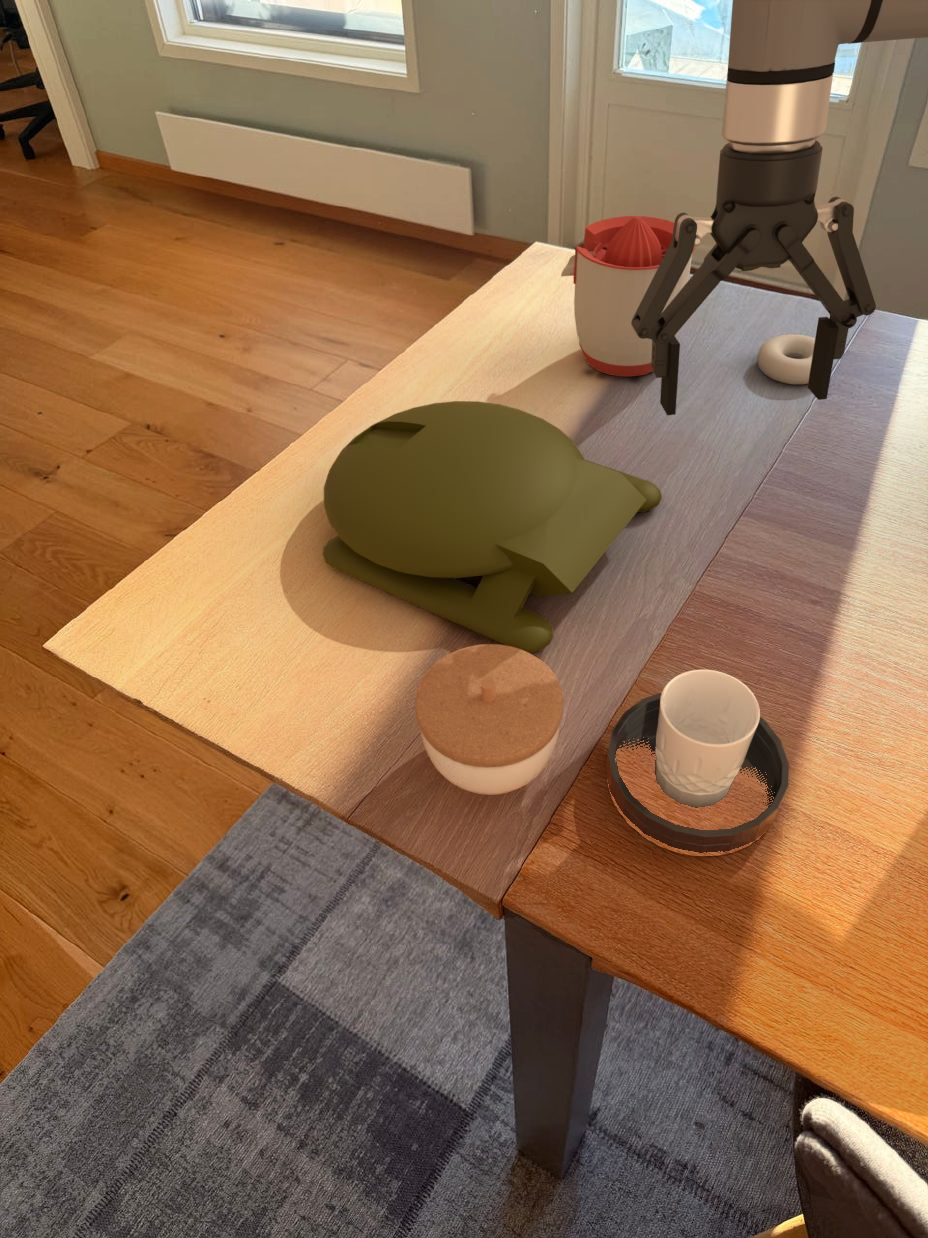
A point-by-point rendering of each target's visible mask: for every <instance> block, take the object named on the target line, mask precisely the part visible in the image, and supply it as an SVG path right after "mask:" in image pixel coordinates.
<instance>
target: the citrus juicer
mask: <svg viewBox="0 0 928 1238" xmlns="http://www.w3.org/2000/svg"><path fill="white" fill-rule="evenodd" d="M674 223H675V221H670V220H668V219H663V218H659V217H653V216H645V215H644V216H643V215H642V216H641V215H627V216H626V215H624V216H616V217H610V218H604V219H601V220H598V221H596V222H592V223H590V224H589V225H587V226H585V227H584V238H583V239H584V240H583V247H581V246H578V245H575V246H574V247H575V249H574V254H573V255H571V256H570V257H569V259H568V262H567V263H566V265H565V267H564V268H563V269H562V271H561V273H560V277H573V278H572V279H573V285H574V299H573V307H574V309H573V311H574V314H573V315H574V323H575V328H576V335H577V338H578V345H579V347H580V351H581V353H582V355H583V357H584V360H585V361H586V363H587V364H588V365H589V366H590V367H591V368H593V369H594V370H596V371H598V372H601V373H603V374H607V375H611V376H615V377H637V376H644V375H648V374H650V373H653V370H652V368H651V361H652V360H651V358H652V340H651V339H648V338H645V339H641V338H639V337H638V335H637V333H636V332H635V330H634V328H633V327H632V325H631V321H632V319H633V317H634V315H635V313H636V311H637V309H638V307H639V305H640V303H641V301H642V299H643V297H644V295H645V293H646V291H647V289H648V287H649V285H650V283H651V281H652V279H653V277H654V275H655V273H656V271H657V269H658V267H659V265H660V263H661V261H662V259H663V257H664V255H665V253H666V252H667V250H668V248H669V246H670V244H671V241H672V235H673V229H674ZM696 247H697V246H696ZM696 247H694V248H693V252H692V255H691V257H690V259H689V261H688V263H687V265H686V267H685V269H684V271H683V273H682V275H681V277H680V279H679V281H678V282H677V284H676V286H675V288H674V290H673V292H672V294H671V296H670V298H669V300H668V302H667V303H666V305H665V307H664V309H663V311H664V310H665V309H666V307H667V306H668V305H669V304H670V302H671V301H672V300H673V299H674V298H675V296H676V295H677V294H678V293H679V292H680V290H681V289H682V288H683V287H684V286H685V284H686V283H687V282H688V281H689V280H690V273H691V266H692V259H693V253H694V251H695V250H696ZM663 311H662V312H663ZM679 332H680V330H679V331H678V332H677V333H676V334H675V337H676V338H677V337H678V335H679Z"/></svg>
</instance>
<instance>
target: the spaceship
mask: <svg viewBox="0 0 928 1238" xmlns="http://www.w3.org/2000/svg"><path fill="white" fill-rule="evenodd" d="M662 496H663V495H662V491H661V489H660V488H659V487H658V486H657V485H656V484H655V483H653V482H651V481H649V480H646V479H643V478H641V477H638V476H634V475H631V474H628V473H625V472H623V471H620V470H618V469H615V468H612V467H608V466H605V465H602V464H599V463H597V462H593V461H591V460H587V459H586V458H585V457H584V455H583V454H582V452H581V451H580V450H579V448H578V447H577V446H576V444H575V442H574V441H573V440H572V439H571V438H570V437H569V436H567V434H566V433H565V432H563V431H562V430H561V429H560V428H559V427H556V426H555V425H554V424H551V422H548V421H547V420H545V419H544V418H542V417H539V416H536V415H535V414H532V413H529V412H527V411H524V410H521V409H519V408H515V407H511V406H507V405H504V404H500V403H494V402H493V403H492V402H486V401H477V400H476V401H475V400H474V401H473V400H468V401H467V400H466V401H465V400H454V401H444V402H435V403H430V404H424V405H420V406H415V407H411V408H409V409H405V410H402V411H400V412H397V413H394V414H391V415H390V416H388V417H386V418H384V419H381V420H380V421H377V422H375V423H373V424H372V425H370V426H369V427H367V428H365V430H363V431H362V432H360V433H358V434H357V435H356V436H354V437H353V438H352V440H350V442H348V444H346V445H345V446H344V447H343V448H342V449H341V451H340V452H339V454H338V455H337V457H336V458H335V460H334V462H333V463H332V465H331V466H330V468H329V470H328V473H327V476H326V479H325V483H324V486H323V506H324V507H323V508H324V510H325V512H326V517H327V520H328V522H329V525H330V526H331V528H332V529H333V530H334V532H335V533H336V535H337V536H335V537H333V538H331V539H330V540H328V541H327V542H326V544H325V545H324V547H322V548H323V549H322V557H323V560H324V562H325V563H326V564H327V565H328V566H330V567H331V568H333V569H335V570H337V571H340V572H342V573H344V574H346V575H348V576H350V577H353V578H355V579H357V580H359V581H362V582H364V583H366V584H369V585H371V586H373V587H375V588H377V589H379V590H381V591H384V592H386V593H388V594H389V595H390V594H391V595H393V596H394V597H397V598H399V599H401V600H403V601H405V602H407V603H410V604H412V605H414V606H417V607H419V608H421V609H423V610H425V611H428V612H430V613H432V614H434V615H436V616H439V617H441V618H443V619H445V620H448V621H450V622H452V623H454V624H456V625H458V626H460V627H463V628H464V629H467V630H469V631H472V632H474V633H476V634H478V635H480V636H483V637H485V638H488V640H492V641H494V642H496V643H498V644H499V645H506V646H511V647H515V648H518V649H521V650H524V651H526V652H528V653H530V654H532V653H536V652H539V651H542V650H544V649H546V648H547V647H548V646H549V645H550V644H551V642H552V640H553V638H554V633H553V632H554V631H553V626H552V624H551V622H550V621H549V619H547V618H545V617H544V616H542V615H541V614H540V613H536V612H534V611H532V610H529V609H527V608H525V607H524V605H525V603H526V601H527V599H528V597H529V595H530V594H531V593H532V594H534V595H537V596H540V597H541V598H544V597H551V596H558V595H566V594H572V593H574V592H575V590H576V589H577V587H578V586H579V585H580V584H581V582H582V581H583V580H584V579H585V578H586V576H587V575H588V574H589V573H590V571H591V570H592V569H593V567H594V566H595V565H596V564H597V563H598V561H599V560H600V559H601V558H602V556H603V555H604V554H605V553H606V551H607V550H608V548H610V546H611V545H612V544H613V542H614V541H615V540H616V539H617V538H618V536H619V535H620V534H621V532H622V531H623V530H624V529H625V527H627V526H628V524H629V522H630V521H631V520H632V519H633V517H634V516H635V515H636V514H637V513H640V512H642V513H644V512H649V511H651V510H653V509H655V508H656V507H657V506H659V505H660V503H661V500H662ZM480 576H482V577H481V580H480V581H479V583H478V585H477V586H473V585H471V584H469V583H467V582H464V581H462V580H460V579H461V578H470V577H480Z"/></svg>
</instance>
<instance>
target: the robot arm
mask: <svg viewBox="0 0 928 1238" xmlns="http://www.w3.org/2000/svg"><path fill="white" fill-rule="evenodd" d="M923 38H925V39H926V38H928V0H732V4H731V17H730V34H729V46H728V47H729V48H728V61H727V73H726V80H725V81H726V83H725V94H724V105H723V115H722V116H723V117H722V128H721V136H722V137H723V139H724V140H725V141H727V143H725V144H724V145H723V147H722V148H721V149H720V151H719V161H718V174H717V184H716V185H717V187H716V197H715V198H716V201H715V207H714V209H713V212H712V213H711V215H710V216H690V215H689V213H687V212H680V213H678V214H677V215H676V217H675V219H674V229H673V235H672V241H671V244H670V246H669V248H668V250H667V252H666V253H665V255H664V257H663V259H662V261H661V263H660V265H659V267H658V269H657V271H656V273H655V275H654V277H653V279H652V281H651V283H650V285H649V287H648V289H647V291H646V293H645V295H644V297H643V299H642V301H641V303H640V305H639V307H638V309H637V311H636V313H635V315H634V317H633V319H632V321H631V325H632V327H633V328H634V330H635V332H636V333H637V335H638V337H639V338H641V339H645V338H648V339H651V340H652V358H651V360H652V361H651V368H652V370H653V371H652V373H653V374H654V377H656V379H659V378H661V379H660V399H659V404H660V405H661V407H662V409H663V411H664V413H665V415H666V416H675V415H677V414H676V413H677V396H678V381H679V367H680V366H679V365H680V352H681V351H680V350H681V343H680V341H679V340H678V339H677V337H675V334H676V333H677V332H678V331H679V332H680V330H681V329H682V328H683V326H684V325H685V324H686V323H687V321H689V319H690V318H691V317H692V316H693V314H694V313H695V312H696V311H697V310H698V309H699V308H700V306H701V305H702V304H703V303H704V301H705V300H706V299H708V298H709V296H710V295H711V293H712V292H713V290H715V289H716V287H717V286H718V285H719V284H720V283H721V281H723V280H726V279H727V278H728V277H730V275H731V274H732V272H733V271H734V270H735V269H738V270H740V271H742V272H751V271H755V270H757V269H760V268H766V269H777V268H779V269H780V268H781V265H784V264H786V262H788V261H789V262H790V264H791V265H792V266H793V267H794V269H795V270H796V271H797V273H798V274H799V275H800V277H801V278H802V279H803V281H804V283H806V285H807V287H809V289H810V290H811V291H812V293H813V294H814V295H815V297H816V298H817V299H818V301H819V302H820V303H821V305H822V306H823V307H824V309H825V311H827V313H828V314H829V317H828V316H820V317H818V320H817V324H816V331H815V337H814V338H815V343H814V350H813V356H812V362H811V369H810V375H809V381H808V384H807V389H808V390H809V392H811V394H812V395H813V396H814V397H815V398H816V399H817V400H818V401H821V400H827V399H828V394H829V389H830V382H831V377H832V371H833V365H834V360H841V359H842V358H843V356H844V354H845V351H846V346H847V345H846V344H847V341H848V340H847V339H848V335H849V329H852V328H854V327H855V326H856V324H857V322H858V318H859V317H862V316H871V315H872V314H873V313H874V312H875V311H876V308H877V305H876V301H875V299H874V295H873V292H872V289H871V286H870V282H869V279H868V276H867V273H866V270H865V267H864V263H863V260H862V257H861V254H860V251H859V248H858V247H859V246H858V244H857V242H856V238H855V235H854V232H853V230H854V218H855V217H854V216H855V208H854V206H853V204H851V203H850V202H848V201H846V200H845V199H843V198H841V197H839V196H833V197H831V198H830V199H829V200H828V202H827V203H822V204H818V205H816V203H815V198H816V197H815V196H816V193H817V190H818V183H819V176H820V169H821V164H822V163H821V162H822V156H823V149H824V148H823V146H822V145H821V143H820V142H819V141H818V140H817V139H819V138H820V137H822V136H823V135H824V134H825V133H826V129H827V122H828V115H829V108H830V107H829V106H830V100H831V92H832V85H833V79H834V78H833V76H834V73H835V67H836V56H837V52H838V49H839V46H840V45H846V44H848V45H851V44H861V43H872V42H886V41H898V40H899V41H900V40H911V39H912V40H913V39H923ZM817 223H819V226H820V228H821V229H822V230H824V231H825V232H826V233H827V237H828V241H829V243H830V246H831V249H832V253H833V255H834V259H835V261H836V264H837V267H838V270H839V273H840V276H841V280H842V282H843V285H844V288H845V291H846V294H847V296H848V298H847V299H846V300H844V299H843V298H842V296H841V295H840V294H839V292H838V291H837V290H836V289H835V287H834V286H833V285H832V283H831V282H830V280H829V279H828V278H827V276H826V275H825V273H824V272H823V271H822V269H821V268H820V267H819V265H818V264H817V263H816V261H815V258H814V257H813V256H812V255H811V253H810V252H809V251H808V249H807V247H805V245H804V243H803V242H804V241H805V240H806V238H807V237H808V235H810V233H811V232H812V231H813V229H814V228H815V226H816V225H817ZM709 234H710V235H711V237H712V239H713V240H714V242H715V244H714V246H712V248H711V249H710V250H709V252H708V253H707V254H706V255H705V256H704V259H703V260H702V261H703V262H702V264H701V265H700V266H699V267H698V268H697V270H695V272H694V274H692V276H691V277H689V281H688V282H687V283H686V284H685V286H684V287H683V288H682V289H681V290H680V292H679V293H678V294H677V295H676V296H675V298H674V299H673V300H672V301H671V302H670V304H669V305H668V306H667V307H666V309H665V310H664V311H663V309H664V307H665V305H666V303H667V302H668V300H669V298H670V296H671V294H672V292H673V290H674V288H675V286H676V284H677V282H678V281H679V279H680V277H681V275H682V273H683V271H684V269H685V267H686V265H687V263H688V261H689V259H690V257H691V255H692V256H693V253H694V252H693V248H694V247H698V246H699V245H701V243H702V241H703V239H704V237H705V236H706V235H709ZM692 252H693V253H692ZM662 311H663V312H662ZM679 332H678V333H679Z"/></svg>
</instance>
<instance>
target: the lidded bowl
mask: <svg viewBox="0 0 928 1238" xmlns="http://www.w3.org/2000/svg"><path fill="white" fill-rule="evenodd" d="M414 712H415V717H416V720H417V721H416V722H417V725H418V727H419V731H420V732H419V733H420V736H421V737H420V738H421V741H422V744H423V746H424V749H425V751H426V754H427V756H428V758H429V759H430V761H431V763H432V764H433V766H434V767H435V769H436V770H437V771H438V772H439V773H440V774H441V775H442V776H443V777H444V778H445V779H446V780H447V781H449V782H450V783H451V784H452V785H454V786H456V787H458V788H460V789H462V790H464V791H467V792H470V793H474V794H479V795H488V796H492V795H493V796H494V795H502V794H503V795H504V794H508V793H510V792H513V791H516V790H518V789H520V788H522V787H524V786H526V785H528V784H529V783H531V782H532V781H533V780H535V779H536V778H537V776H539V775H540V773H542V771H544V769H545V768H546V767H547V765H548V763H549V762H550V759H552V755H553V753H554V752H555V750H556V746H557V742H558V740H559V734H560V731H561V722H562V718H563V713H564V694H563V689H562V687H561V684H560V682H559V680H558V678H557V676H556V675H555V673H554V672H553V671H552V669H551V668H550V667H549V666H548V665H547V664H546V663H545V662H543V660H541V659H540V658H538V657H537V656H535V655H533V654H532V653H528V652H526V651H524V650H521V649H518V648H515V647H511V646H506V645H502V644H500V643H498V644H495V643H485V644H475V645H469V646H466V647H463V648H459V649H456V650H455V651H453V652H451V653H449V654H446V655H445V656H443V657H441V658H440V659H439V660H437V661H436V662H435V663H434V664H433V665H432V666H430V668H429V669H427V671H426V672H425V673H424V675H423V677H422V678H421V680H420V681H419V683H418V686H417V689H416V692H415V697H414Z"/></svg>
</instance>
